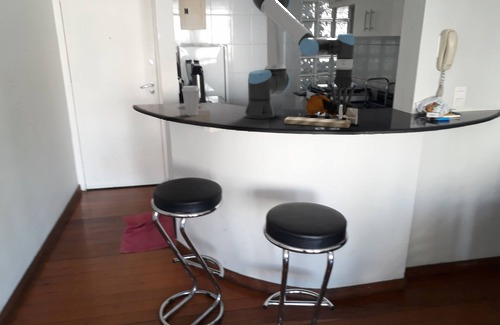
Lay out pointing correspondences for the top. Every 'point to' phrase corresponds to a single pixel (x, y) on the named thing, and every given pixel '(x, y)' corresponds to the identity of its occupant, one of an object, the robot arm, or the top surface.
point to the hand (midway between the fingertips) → (340, 118)
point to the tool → (324, 105)
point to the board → (317, 122)
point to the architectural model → (351, 115)
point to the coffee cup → (191, 99)
